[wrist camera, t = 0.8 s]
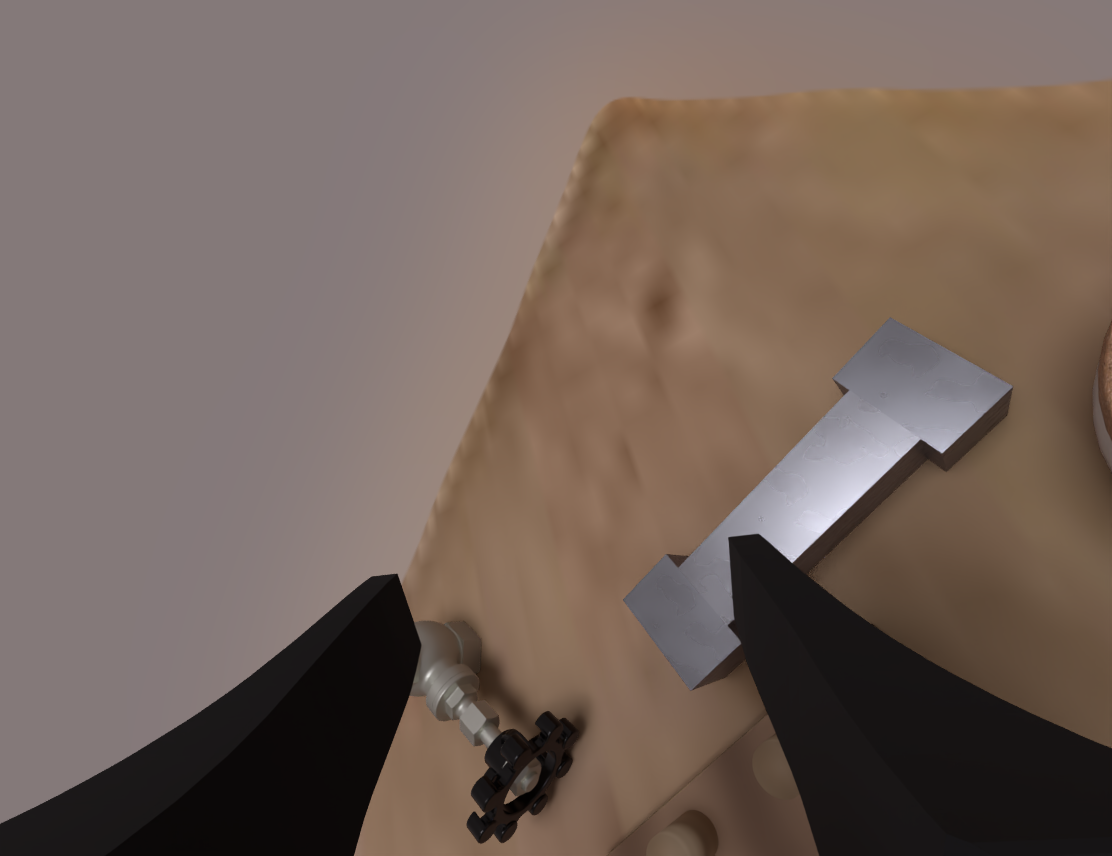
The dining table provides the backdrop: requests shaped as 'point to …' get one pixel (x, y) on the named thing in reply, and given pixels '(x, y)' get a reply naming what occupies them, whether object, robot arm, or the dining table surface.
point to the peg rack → (732, 808)
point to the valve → (489, 731)
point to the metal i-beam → (824, 487)
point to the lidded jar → (1104, 399)
